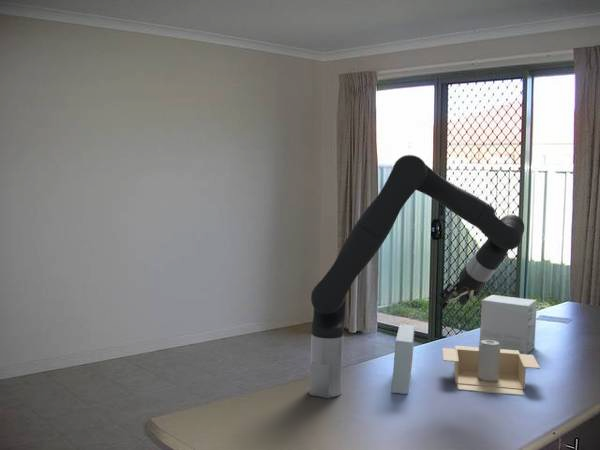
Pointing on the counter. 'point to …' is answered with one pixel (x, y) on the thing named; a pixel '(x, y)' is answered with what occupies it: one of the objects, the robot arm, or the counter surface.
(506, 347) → the supplement box
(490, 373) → the beverage can
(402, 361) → the skincare box
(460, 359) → the carton
